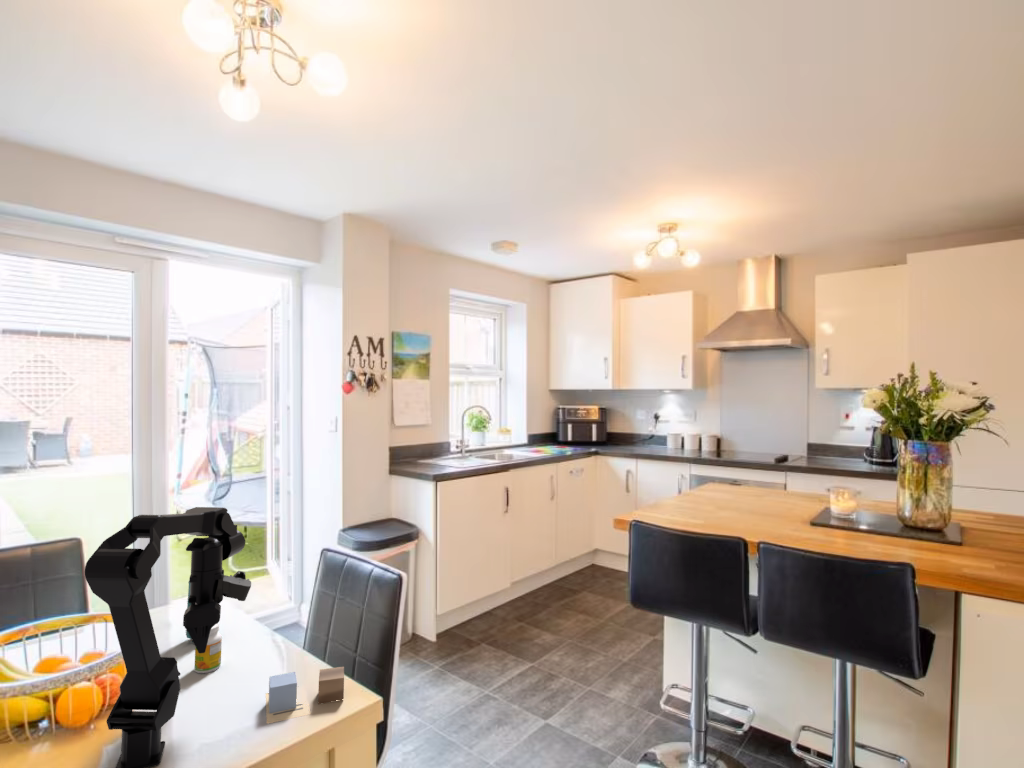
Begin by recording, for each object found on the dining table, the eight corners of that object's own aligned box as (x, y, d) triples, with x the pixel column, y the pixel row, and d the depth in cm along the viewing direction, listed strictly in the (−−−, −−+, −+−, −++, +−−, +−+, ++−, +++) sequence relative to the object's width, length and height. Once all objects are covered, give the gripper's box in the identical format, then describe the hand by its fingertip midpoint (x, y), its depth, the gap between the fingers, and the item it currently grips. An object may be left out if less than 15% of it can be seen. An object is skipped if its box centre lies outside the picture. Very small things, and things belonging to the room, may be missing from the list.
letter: (310, 714, 107) (310, 713, 107) (266, 724, 104) (266, 723, 104) (305, 686, 118) (305, 685, 118) (265, 694, 114) (265, 693, 114)
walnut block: (343, 702, 112) (344, 677, 112) (318, 705, 111) (318, 681, 111) (343, 689, 117) (344, 666, 117) (319, 693, 115) (319, 669, 116)
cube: (269, 713, 107) (270, 688, 107) (268, 701, 111) (269, 676, 112) (296, 707, 109) (296, 682, 109) (294, 695, 114) (295, 671, 114)
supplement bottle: (189, 670, 124) (190, 627, 125) (211, 660, 129) (213, 619, 129) (203, 676, 122) (205, 632, 122) (225, 666, 127) (227, 624, 127)
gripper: (249, 575, 107) (246, 655, 107) (249, 552, 124) (247, 620, 123) (184, 583, 102) (181, 666, 102) (194, 557, 119) (191, 628, 119)
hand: (203, 643), depth 112 cm, fingers open, 9 cm apart
